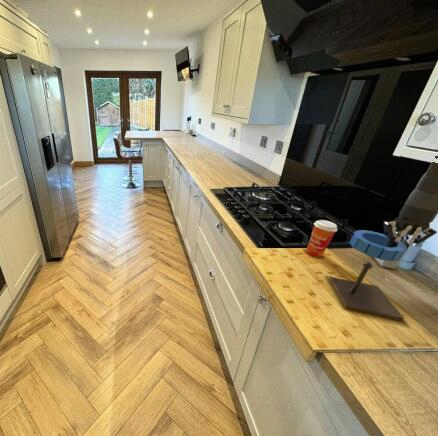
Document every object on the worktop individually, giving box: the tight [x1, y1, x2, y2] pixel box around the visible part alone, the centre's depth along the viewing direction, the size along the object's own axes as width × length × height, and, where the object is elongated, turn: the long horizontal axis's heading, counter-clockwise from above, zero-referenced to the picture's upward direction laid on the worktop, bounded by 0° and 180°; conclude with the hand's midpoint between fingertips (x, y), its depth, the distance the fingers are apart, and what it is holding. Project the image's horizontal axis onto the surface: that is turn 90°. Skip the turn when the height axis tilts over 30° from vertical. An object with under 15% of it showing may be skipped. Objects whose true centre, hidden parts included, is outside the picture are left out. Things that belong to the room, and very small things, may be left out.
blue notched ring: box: [349, 229, 407, 262], centre depth 82 cm, size 14×14×4 cm
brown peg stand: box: [328, 261, 405, 322], centre depth 72 cm, size 14×14×13 cm
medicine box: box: [372, 253, 405, 270], centre depth 92 cm, size 8×4×9 cm, turn 161°
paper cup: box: [306, 219, 338, 258], centre depth 95 cm, size 8×8×14 cm
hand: (394, 250), depth 81 cm, fingers closed on blue notched ring, 2 cm apart
